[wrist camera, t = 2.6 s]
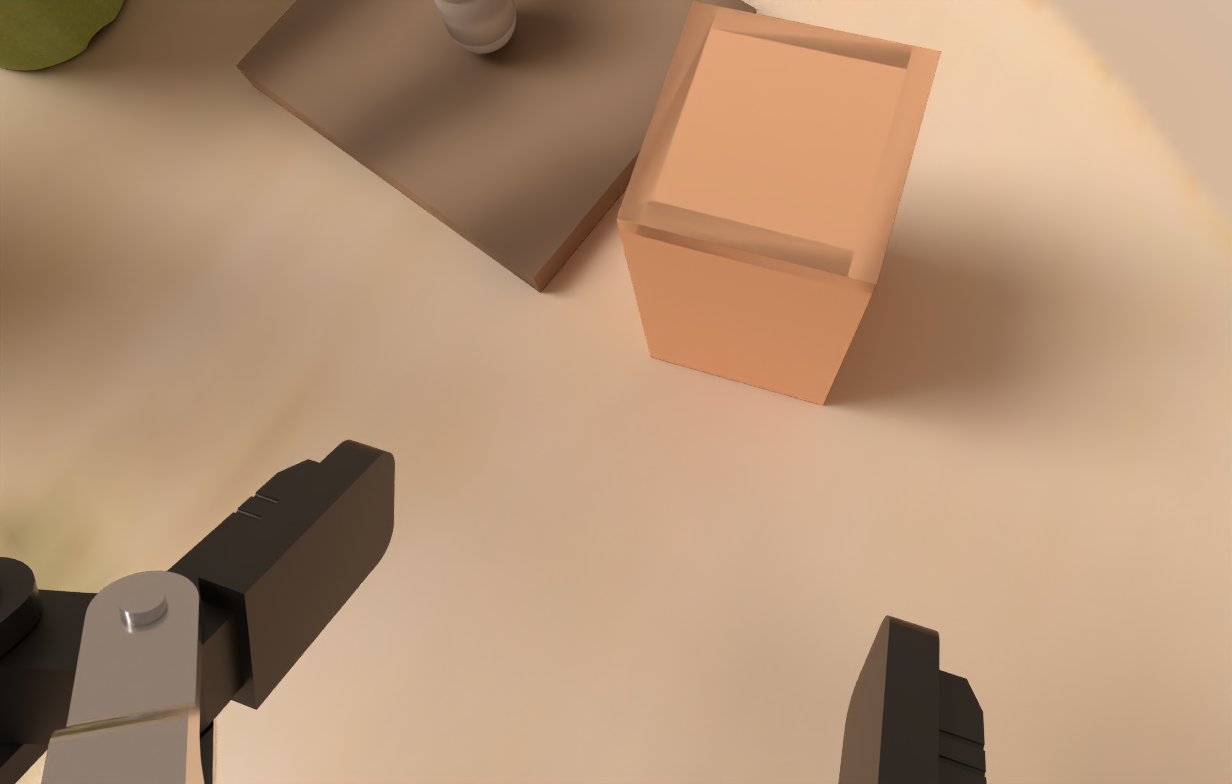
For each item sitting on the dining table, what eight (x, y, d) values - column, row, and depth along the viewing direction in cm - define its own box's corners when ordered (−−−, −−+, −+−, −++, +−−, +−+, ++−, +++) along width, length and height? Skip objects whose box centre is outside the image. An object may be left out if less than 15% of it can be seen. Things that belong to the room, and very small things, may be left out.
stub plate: (253, 85, 33) (161, -23, 28) (460, -140, 35) (412, -283, 30) (540, 292, 30) (499, 215, 24) (755, 32, 32) (762, -95, 26)
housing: (650, 356, 29) (616, 218, 19) (701, 203, 30) (692, 1, 21) (823, 405, 28) (876, 284, 18) (868, 244, 29) (941, 51, 19)
